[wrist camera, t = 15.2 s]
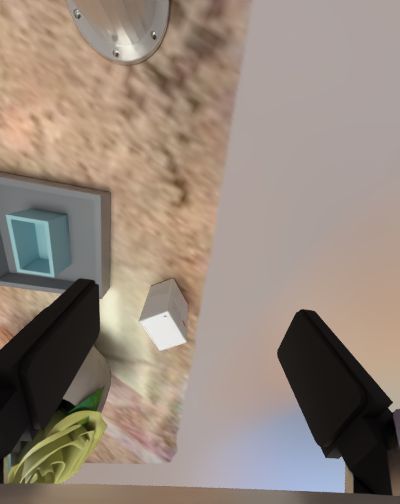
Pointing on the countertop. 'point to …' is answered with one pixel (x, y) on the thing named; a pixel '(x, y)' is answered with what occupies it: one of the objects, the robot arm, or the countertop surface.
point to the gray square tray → (80, 231)
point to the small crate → (40, 241)
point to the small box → (165, 315)
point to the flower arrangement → (66, 429)
